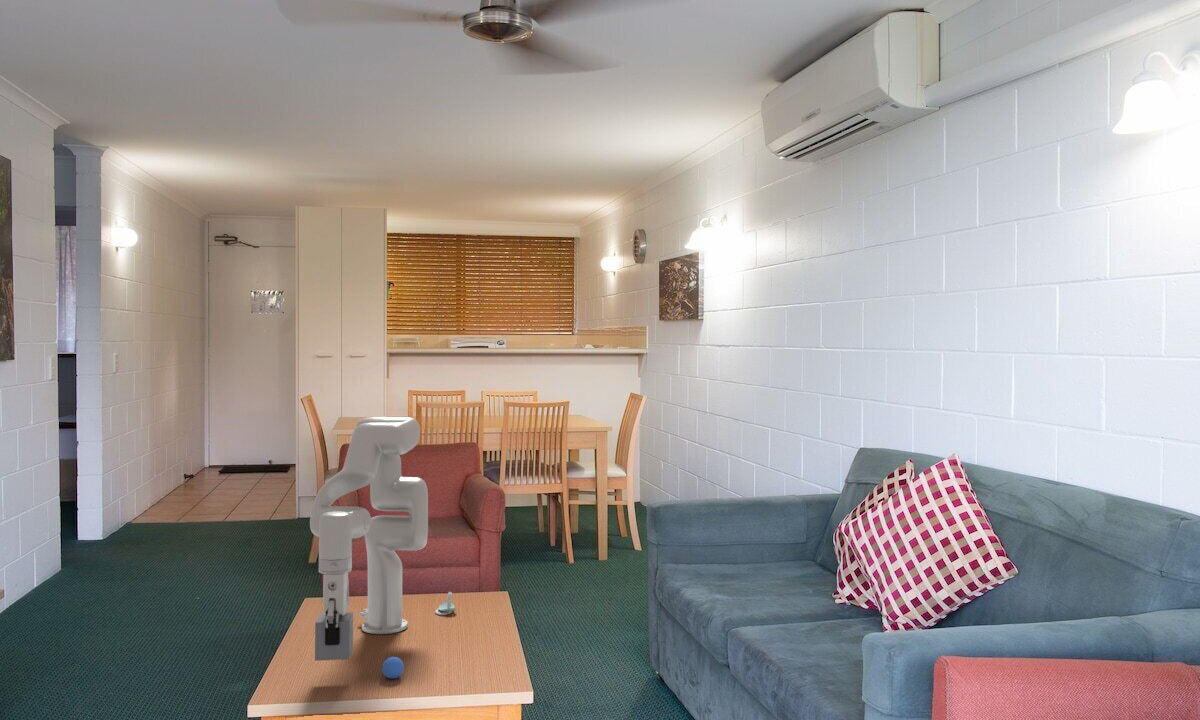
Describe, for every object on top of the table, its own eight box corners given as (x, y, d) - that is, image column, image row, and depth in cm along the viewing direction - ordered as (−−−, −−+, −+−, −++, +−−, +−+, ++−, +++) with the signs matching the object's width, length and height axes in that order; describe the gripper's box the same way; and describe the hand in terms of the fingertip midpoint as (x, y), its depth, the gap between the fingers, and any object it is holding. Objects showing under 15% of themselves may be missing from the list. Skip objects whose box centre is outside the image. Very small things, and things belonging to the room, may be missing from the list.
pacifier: (436, 617, 271) (457, 615, 273) (436, 596, 271) (456, 594, 272) (433, 611, 278) (453, 608, 280) (432, 590, 278) (452, 588, 279)
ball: (377, 679, 219) (377, 658, 219) (392, 673, 223) (392, 652, 223) (393, 683, 216) (393, 662, 216) (408, 676, 221) (408, 656, 221)
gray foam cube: (314, 660, 213) (315, 622, 213) (319, 650, 220) (320, 613, 220) (349, 659, 214) (349, 621, 214) (352, 649, 222) (353, 612, 222)
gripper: (347, 572, 209) (346, 650, 209) (355, 556, 227) (355, 628, 226) (313, 573, 208) (312, 651, 208) (324, 557, 225) (323, 629, 225)
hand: (334, 639), depth 217 cm, fingers closed on gray foam cube, 7 cm apart
